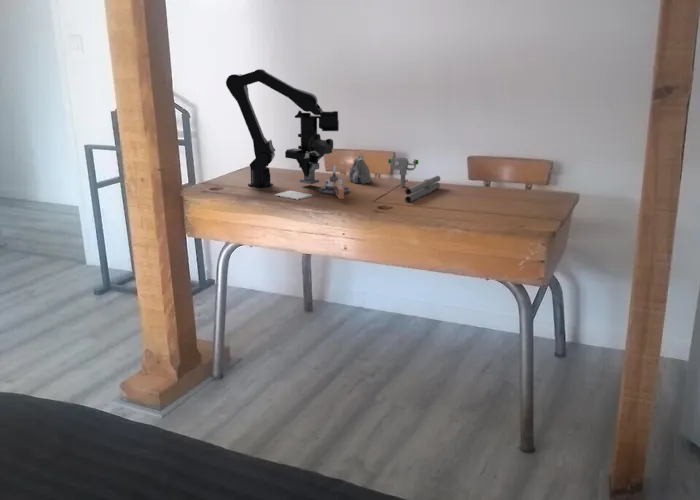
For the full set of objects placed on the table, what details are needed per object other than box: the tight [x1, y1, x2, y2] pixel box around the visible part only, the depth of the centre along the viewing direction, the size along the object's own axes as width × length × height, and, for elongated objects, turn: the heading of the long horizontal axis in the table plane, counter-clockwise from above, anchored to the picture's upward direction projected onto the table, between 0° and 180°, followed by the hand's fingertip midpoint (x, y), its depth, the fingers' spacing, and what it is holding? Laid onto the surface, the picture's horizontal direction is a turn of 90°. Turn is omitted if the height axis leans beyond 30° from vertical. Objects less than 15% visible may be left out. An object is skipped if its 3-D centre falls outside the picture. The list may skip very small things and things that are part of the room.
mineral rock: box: [348, 153, 372, 185], centre depth 255 cm, size 13×11×10 cm
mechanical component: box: [388, 157, 419, 188], centre depth 245 cm, size 3×10×10 cm, turn 78°
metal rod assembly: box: [404, 175, 441, 203], centre depth 234 cm, size 26×3×5 cm, turn 151°
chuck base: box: [318, 185, 350, 196], centre depth 238 cm, size 10×10×1 cm
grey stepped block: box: [298, 162, 320, 185], centre depth 245 cm, size 7×4×7 cm, turn 53°
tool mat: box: [274, 190, 313, 201], centre depth 231 cm, size 10×7×1 cm
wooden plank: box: [324, 164, 345, 200], centre depth 230 cm, size 20×6×8 cm, turn 9°
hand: (309, 175), depth 245 cm, fingers closed on grey stepped block, 3 cm apart
